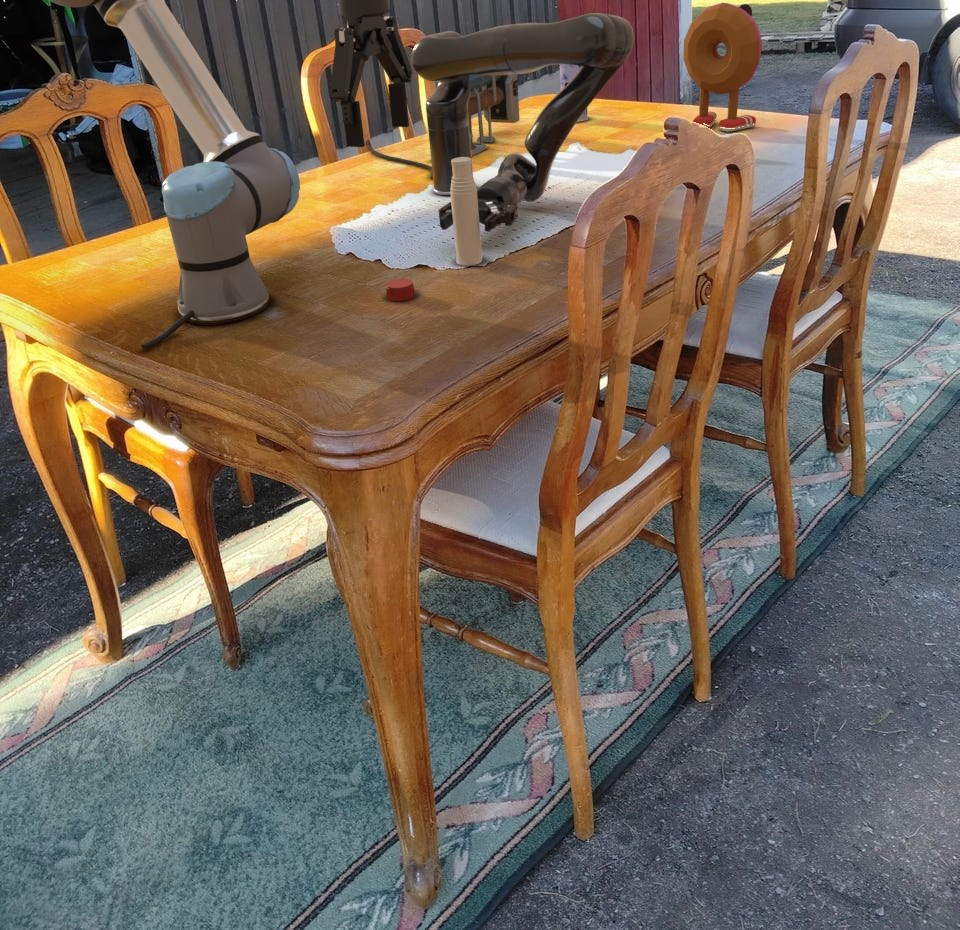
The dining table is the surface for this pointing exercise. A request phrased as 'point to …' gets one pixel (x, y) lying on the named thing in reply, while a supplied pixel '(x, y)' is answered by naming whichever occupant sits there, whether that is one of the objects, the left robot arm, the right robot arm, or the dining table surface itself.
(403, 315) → the dining table surface
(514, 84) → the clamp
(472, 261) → the bottle
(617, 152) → the dining table surface
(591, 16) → the right robot arm
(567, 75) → the aerosol can
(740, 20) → the toy
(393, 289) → the cap
